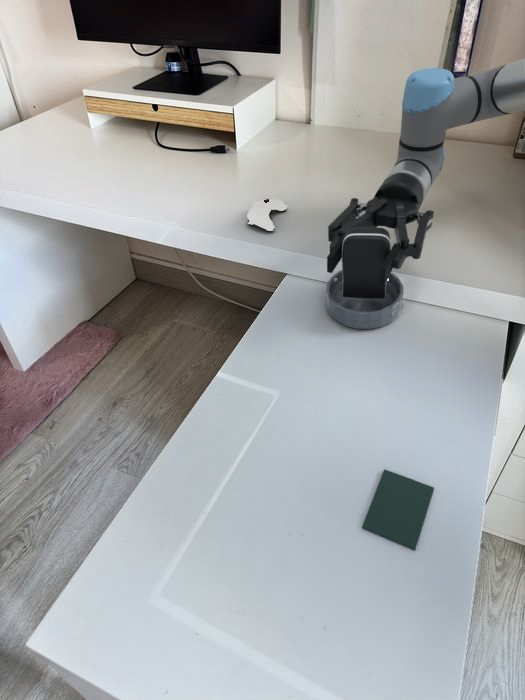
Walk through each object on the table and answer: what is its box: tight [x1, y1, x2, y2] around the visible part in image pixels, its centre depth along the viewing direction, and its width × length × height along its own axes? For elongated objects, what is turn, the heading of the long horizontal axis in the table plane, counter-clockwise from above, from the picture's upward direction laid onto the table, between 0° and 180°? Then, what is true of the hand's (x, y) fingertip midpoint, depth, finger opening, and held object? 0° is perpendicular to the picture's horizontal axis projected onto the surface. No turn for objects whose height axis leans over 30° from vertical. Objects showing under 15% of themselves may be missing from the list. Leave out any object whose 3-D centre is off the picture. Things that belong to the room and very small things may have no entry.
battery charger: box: [341, 226, 392, 299], centre depth 77 cm, size 7×4×11 cm, turn 79°
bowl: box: [325, 269, 404, 330], centre depth 81 cm, size 12×12×4 cm
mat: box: [361, 468, 435, 551], centre depth 58 cm, size 6×8×1 cm
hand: (355, 270), depth 72 cm, fingers closed on battery charger, 7 cm apart
